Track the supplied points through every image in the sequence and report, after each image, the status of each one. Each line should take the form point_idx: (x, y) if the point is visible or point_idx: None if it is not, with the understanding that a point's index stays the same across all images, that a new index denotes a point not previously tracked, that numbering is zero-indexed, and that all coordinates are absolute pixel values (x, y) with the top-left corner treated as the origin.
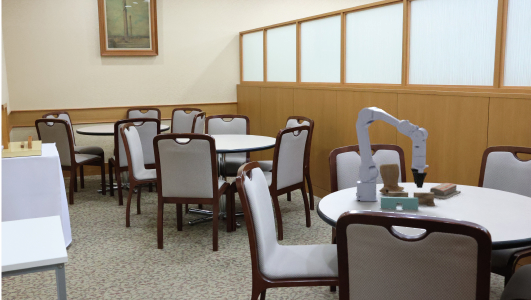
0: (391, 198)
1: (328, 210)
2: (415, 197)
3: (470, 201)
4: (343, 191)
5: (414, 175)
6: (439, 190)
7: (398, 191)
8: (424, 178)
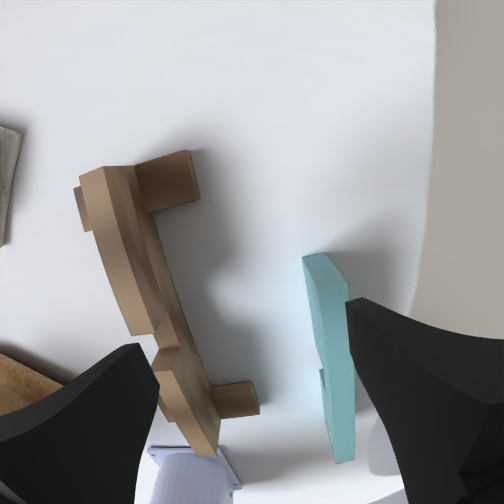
0: (353, 425)
1: (378, 493)
2: (162, 304)
3: (47, 10)
4: None
5: (129, 469)
6: None
7: (51, 383)
8: (472, 338)
